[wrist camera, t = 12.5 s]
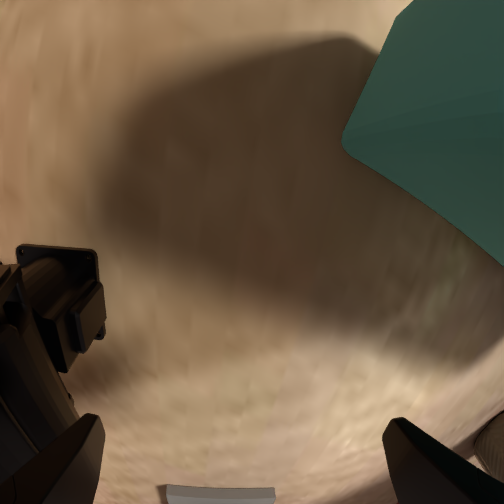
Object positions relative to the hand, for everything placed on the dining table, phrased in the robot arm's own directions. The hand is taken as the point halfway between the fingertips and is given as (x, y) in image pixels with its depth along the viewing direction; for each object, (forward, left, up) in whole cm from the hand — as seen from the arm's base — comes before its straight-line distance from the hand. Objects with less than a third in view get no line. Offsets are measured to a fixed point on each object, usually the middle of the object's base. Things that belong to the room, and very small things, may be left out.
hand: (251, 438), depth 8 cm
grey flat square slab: (0, -32, -12) cm, 34 cm away
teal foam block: (+21, +8, -12) cm, 25 cm away
